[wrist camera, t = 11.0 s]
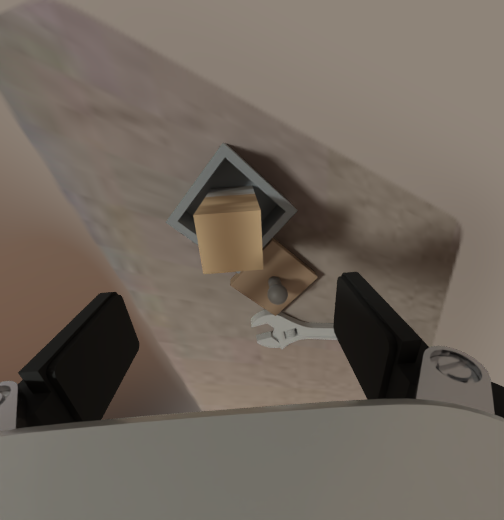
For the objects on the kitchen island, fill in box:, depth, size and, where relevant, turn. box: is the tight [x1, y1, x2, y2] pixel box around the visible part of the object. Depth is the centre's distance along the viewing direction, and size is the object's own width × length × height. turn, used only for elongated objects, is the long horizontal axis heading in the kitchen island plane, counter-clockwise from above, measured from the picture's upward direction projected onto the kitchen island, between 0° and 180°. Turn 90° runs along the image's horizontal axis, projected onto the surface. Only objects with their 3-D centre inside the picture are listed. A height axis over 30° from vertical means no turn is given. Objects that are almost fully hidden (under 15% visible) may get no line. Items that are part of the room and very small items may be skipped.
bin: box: [166, 143, 297, 274], centre depth 25 cm, size 9×9×5 cm
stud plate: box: [230, 238, 318, 316], centre depth 29 cm, size 8×8×6 cm
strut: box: [193, 185, 263, 274], centre depth 21 cm, size 4×4×11 cm
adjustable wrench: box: [251, 310, 338, 349], centre depth 36 cm, size 25×6×2 cm, turn 79°
